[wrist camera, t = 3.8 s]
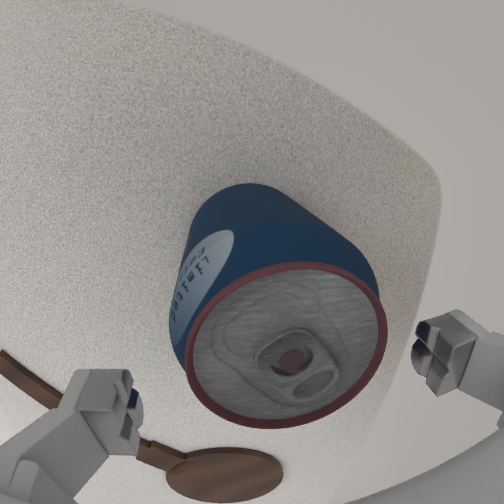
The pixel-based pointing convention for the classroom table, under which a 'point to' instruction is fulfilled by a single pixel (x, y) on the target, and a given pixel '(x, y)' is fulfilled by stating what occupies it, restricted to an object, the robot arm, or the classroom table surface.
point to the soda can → (273, 311)
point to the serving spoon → (179, 455)
